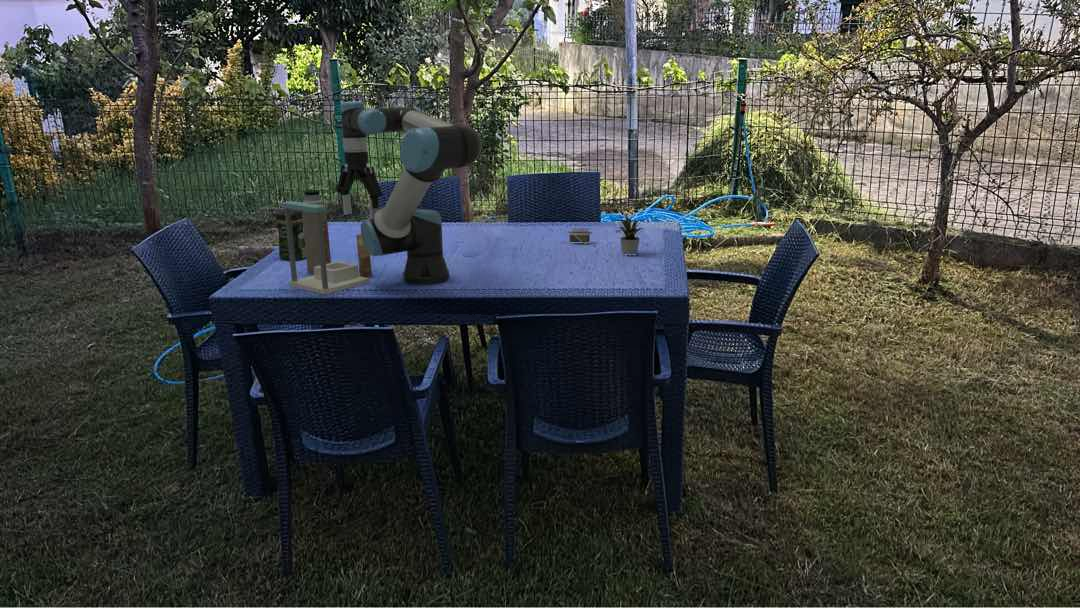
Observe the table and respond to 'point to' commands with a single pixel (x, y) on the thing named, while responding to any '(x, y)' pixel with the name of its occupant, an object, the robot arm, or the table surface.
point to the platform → (580, 235)
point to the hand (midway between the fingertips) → (360, 216)
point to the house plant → (629, 235)
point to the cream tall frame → (325, 275)
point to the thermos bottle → (314, 233)
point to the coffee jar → (297, 234)
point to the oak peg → (363, 258)
